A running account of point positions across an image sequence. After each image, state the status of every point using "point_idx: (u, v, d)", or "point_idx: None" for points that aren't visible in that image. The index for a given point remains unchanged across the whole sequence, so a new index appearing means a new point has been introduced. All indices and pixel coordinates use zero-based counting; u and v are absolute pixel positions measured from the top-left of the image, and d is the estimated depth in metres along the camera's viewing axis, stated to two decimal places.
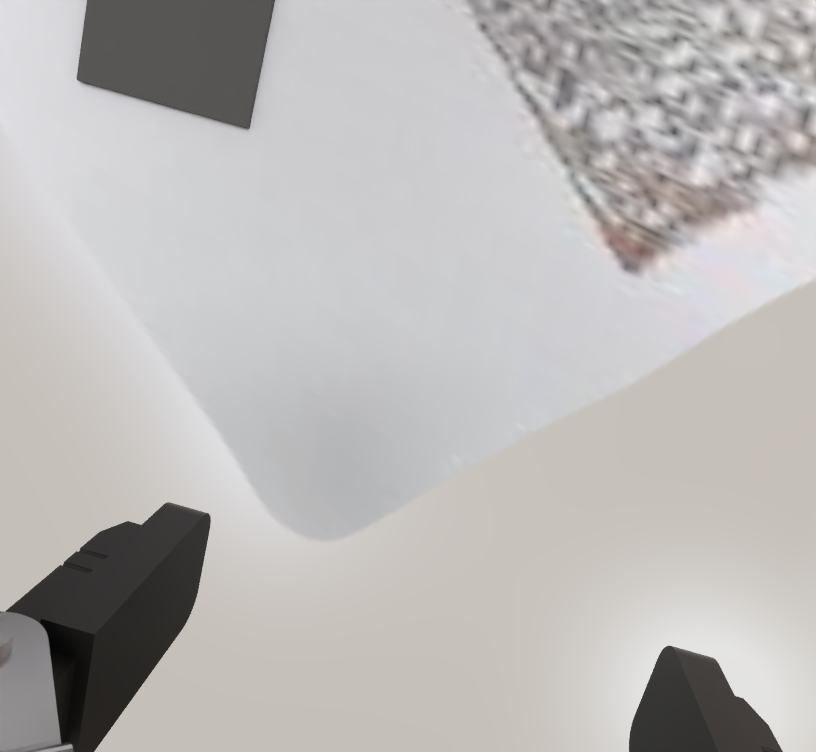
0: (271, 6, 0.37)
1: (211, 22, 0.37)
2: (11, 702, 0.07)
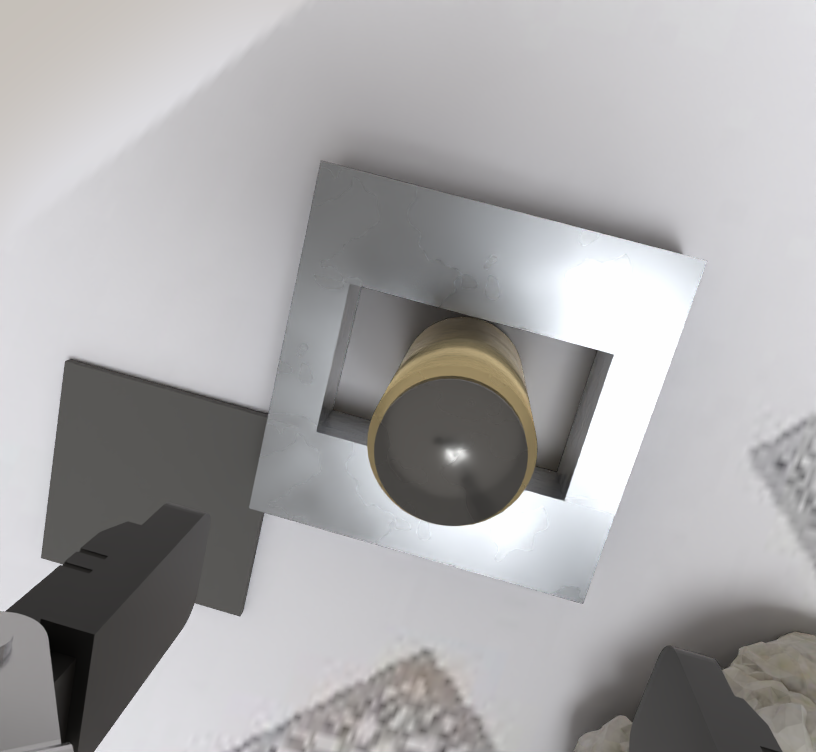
0: None
1: None
2: (12, 702, 0.07)
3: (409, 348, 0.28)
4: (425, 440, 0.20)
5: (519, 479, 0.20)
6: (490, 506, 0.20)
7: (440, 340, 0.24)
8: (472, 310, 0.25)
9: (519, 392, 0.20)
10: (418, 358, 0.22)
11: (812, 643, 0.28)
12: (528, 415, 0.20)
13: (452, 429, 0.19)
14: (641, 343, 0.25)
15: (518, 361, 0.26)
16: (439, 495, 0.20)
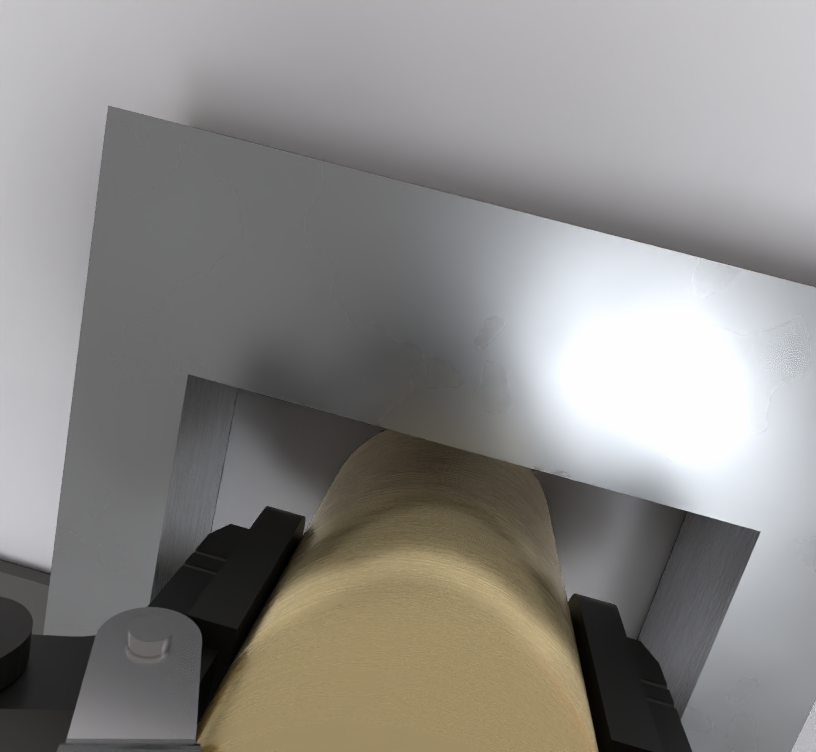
0: None
1: None
2: (186, 690, 0.08)
3: (332, 483, 0.14)
4: None
5: None
6: None
7: (372, 522, 0.10)
8: (450, 433, 0.12)
9: None
10: (300, 607, 0.08)
11: None
12: None
13: None
14: None
15: (547, 529, 0.13)
16: None
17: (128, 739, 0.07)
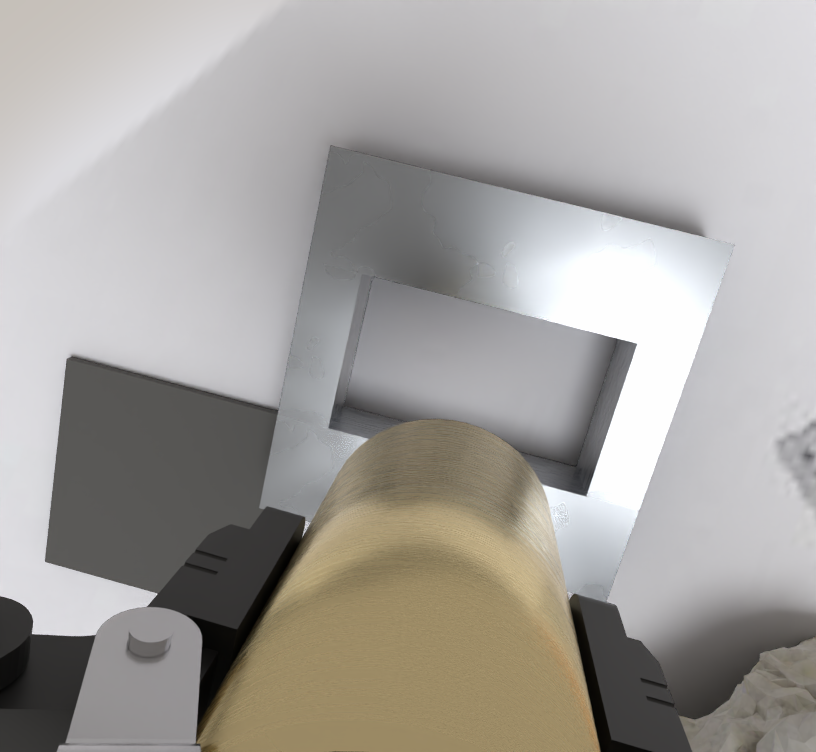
0: None
1: (150, 531, 0.31)
2: (186, 690, 0.08)
3: (333, 482, 0.14)
4: None
5: None
6: None
7: (373, 521, 0.10)
8: (489, 299, 0.24)
9: None
10: (302, 605, 0.08)
11: None
12: None
13: None
14: (666, 332, 0.24)
15: (548, 528, 0.13)
16: None
17: (127, 739, 0.07)
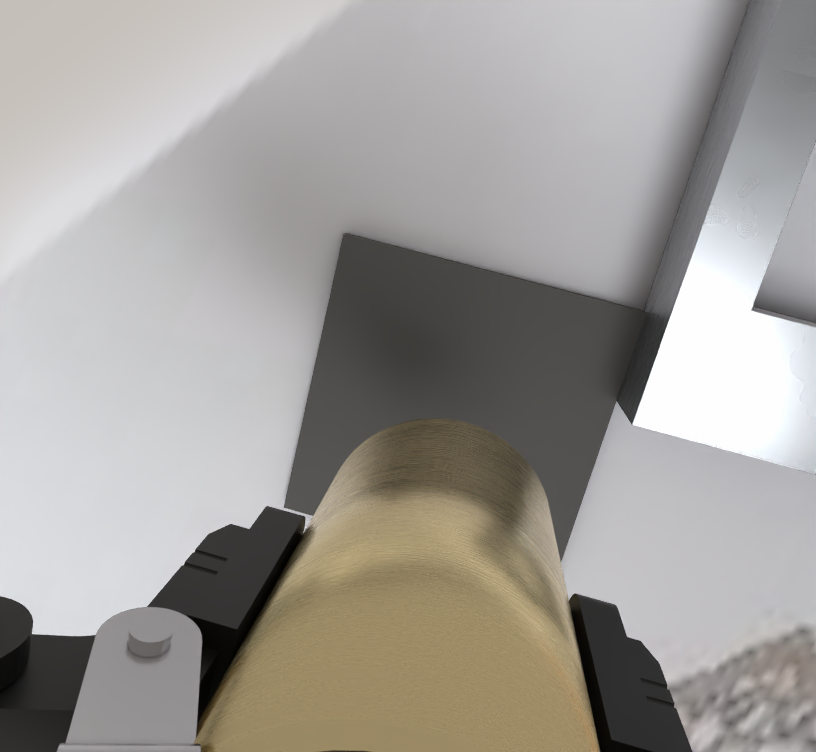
0: None
1: None
2: (186, 689, 0.08)
3: None
4: None
5: None
6: None
7: (372, 520, 0.10)
8: None
9: None
10: (301, 604, 0.08)
11: None
12: None
13: None
14: None
15: (548, 527, 0.13)
16: None
17: (128, 739, 0.07)
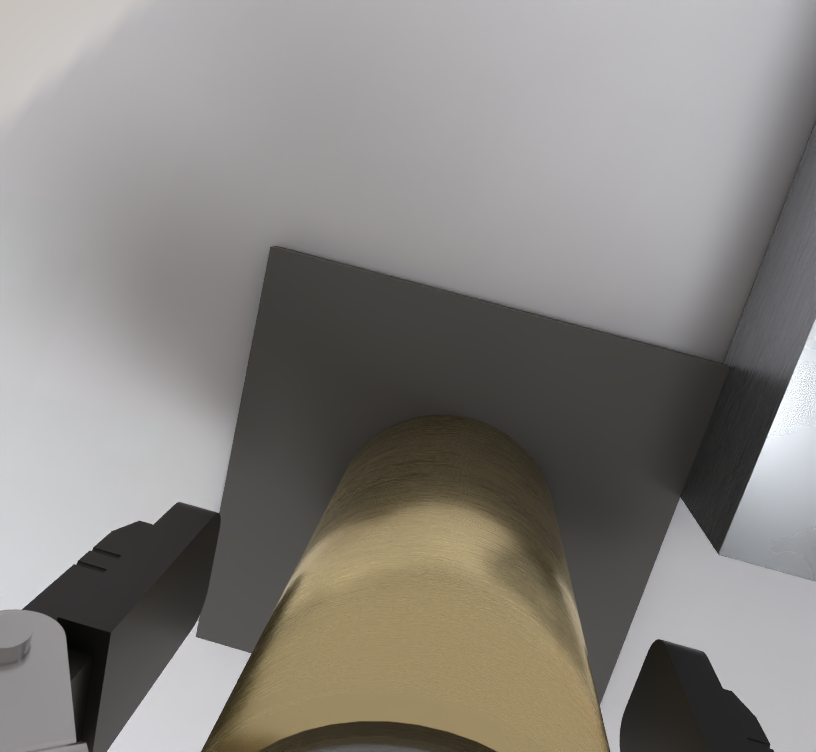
0: None
1: None
2: (32, 699, 0.07)
3: (343, 476, 0.15)
4: None
5: None
6: None
7: (386, 512, 0.11)
8: None
9: (585, 734, 0.07)
10: (322, 590, 0.09)
11: None
12: None
13: None
14: None
15: (552, 519, 0.13)
16: None
17: None
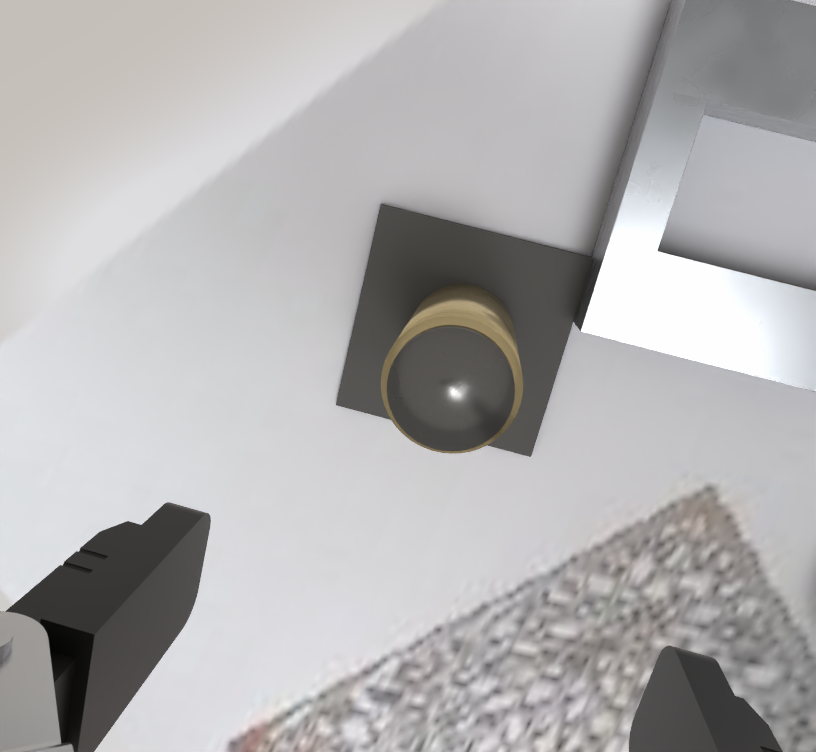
0: None
1: None
2: (11, 702, 0.07)
3: None
4: (429, 379, 0.24)
5: (508, 410, 0.24)
6: (484, 433, 0.24)
7: (441, 300, 0.28)
8: None
9: (507, 339, 0.24)
10: (422, 314, 0.26)
11: None
12: (515, 357, 0.24)
13: (451, 369, 0.23)
14: None
15: (509, 320, 0.30)
16: (441, 425, 0.24)
17: None
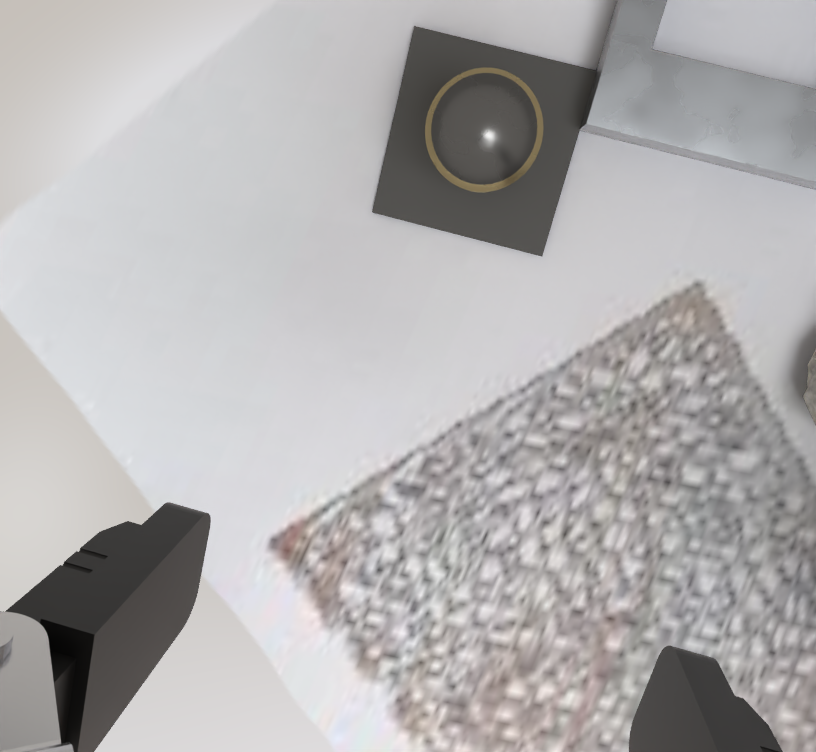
0: (478, 239, 0.39)
1: None
2: (11, 702, 0.07)
3: None
4: (466, 119, 0.29)
5: (531, 144, 0.29)
6: (512, 166, 0.29)
7: None
8: None
9: None
10: None
11: None
12: (536, 101, 0.29)
13: (485, 109, 0.28)
14: None
15: None
16: (476, 161, 0.29)
17: None
